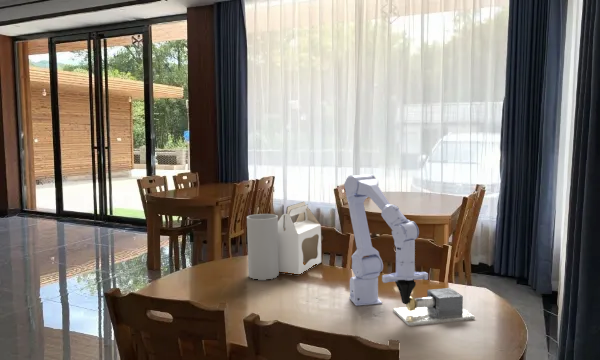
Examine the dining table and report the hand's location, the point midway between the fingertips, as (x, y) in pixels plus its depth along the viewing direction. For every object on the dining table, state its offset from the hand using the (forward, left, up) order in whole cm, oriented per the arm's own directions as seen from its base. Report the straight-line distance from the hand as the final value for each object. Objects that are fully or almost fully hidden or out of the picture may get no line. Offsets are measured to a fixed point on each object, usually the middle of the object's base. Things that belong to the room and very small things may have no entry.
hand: (405, 302), depth 148 cm
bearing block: (+10, 0, -5) cm, 11 cm away
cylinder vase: (-39, +54, -5) cm, 67 cm away
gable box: (-23, +64, -5) cm, 68 cm away
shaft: (+8, 0, -3) cm, 9 cm away
